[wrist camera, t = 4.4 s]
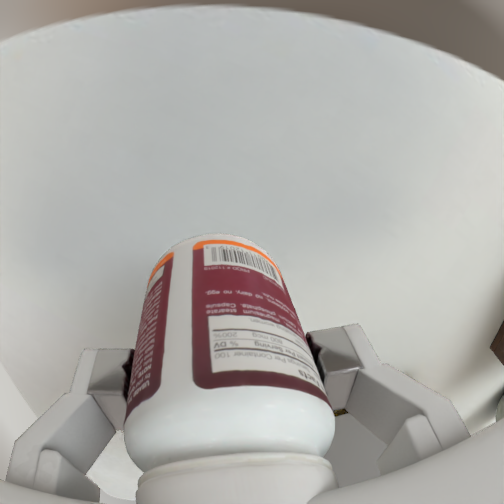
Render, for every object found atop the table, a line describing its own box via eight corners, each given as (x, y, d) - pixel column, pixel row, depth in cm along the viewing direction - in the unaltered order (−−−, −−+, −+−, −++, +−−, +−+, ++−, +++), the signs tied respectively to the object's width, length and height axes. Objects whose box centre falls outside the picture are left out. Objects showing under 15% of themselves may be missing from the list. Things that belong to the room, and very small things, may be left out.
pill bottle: (191, 352, 13) (201, 557, 5) (122, 266, 10) (61, 524, 3) (300, 309, 12) (377, 521, 5) (251, 204, 10) (349, 498, 3)
